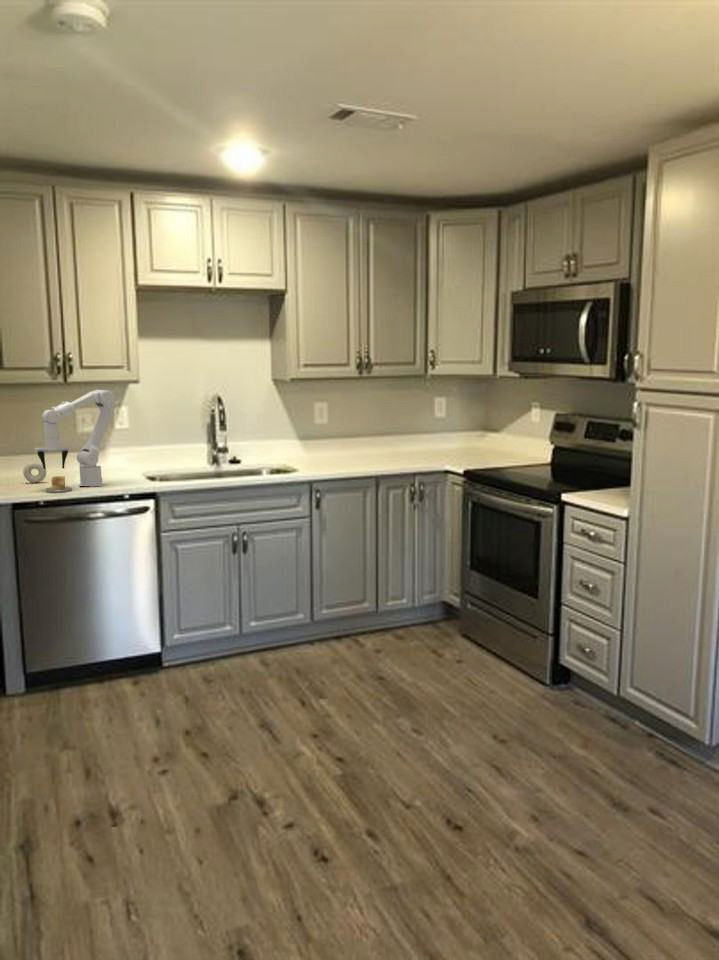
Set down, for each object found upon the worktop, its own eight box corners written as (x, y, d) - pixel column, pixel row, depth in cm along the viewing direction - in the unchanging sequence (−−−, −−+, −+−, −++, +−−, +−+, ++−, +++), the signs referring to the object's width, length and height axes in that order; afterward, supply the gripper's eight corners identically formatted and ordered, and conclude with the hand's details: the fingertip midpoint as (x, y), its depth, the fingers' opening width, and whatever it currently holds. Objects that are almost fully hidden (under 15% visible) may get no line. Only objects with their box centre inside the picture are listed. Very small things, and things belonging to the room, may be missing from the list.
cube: (65, 487, 349) (64, 476, 348) (64, 489, 344) (63, 477, 343) (53, 487, 347) (52, 476, 347) (52, 489, 343) (51, 478, 342)
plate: (73, 488, 353) (72, 486, 352) (71, 492, 342) (71, 490, 342) (46, 489, 350) (46, 487, 349) (44, 493, 339) (43, 491, 339)
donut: (47, 481, 369) (46, 460, 368) (46, 483, 366) (45, 461, 365) (24, 482, 366) (22, 461, 365) (23, 484, 363) (22, 462, 362)
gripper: (33, 439, 339) (35, 470, 342) (69, 438, 344) (71, 469, 346) (34, 437, 346) (36, 468, 348) (70, 436, 350) (71, 466, 353)
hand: (54, 468), depth 348 cm, fingers open, 7 cm apart
